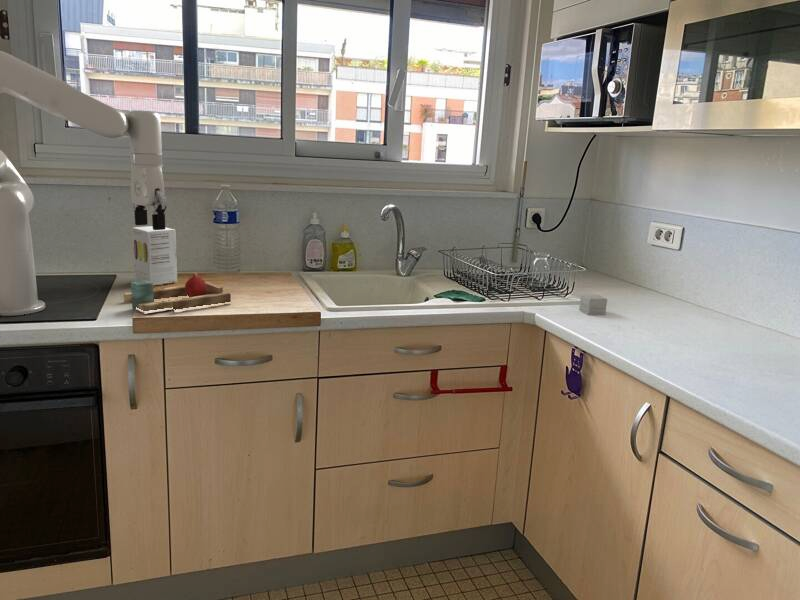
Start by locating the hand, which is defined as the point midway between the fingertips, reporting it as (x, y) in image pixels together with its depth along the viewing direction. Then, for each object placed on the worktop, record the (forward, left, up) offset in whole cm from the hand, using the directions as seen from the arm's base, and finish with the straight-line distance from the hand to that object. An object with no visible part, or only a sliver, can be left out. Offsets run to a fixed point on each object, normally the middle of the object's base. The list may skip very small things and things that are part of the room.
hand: (150, 227), depth 171 cm
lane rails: (+8, -5, -21) cm, 23 cm away
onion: (+10, -4, -21) cm, 24 cm away
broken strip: (+4, +5, -21) cm, 22 cm away
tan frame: (+5, -5, -21) cm, 22 cm away
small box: (+95, -78, -21) cm, 125 cm away
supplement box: (+11, +23, -21) cm, 33 cm away
